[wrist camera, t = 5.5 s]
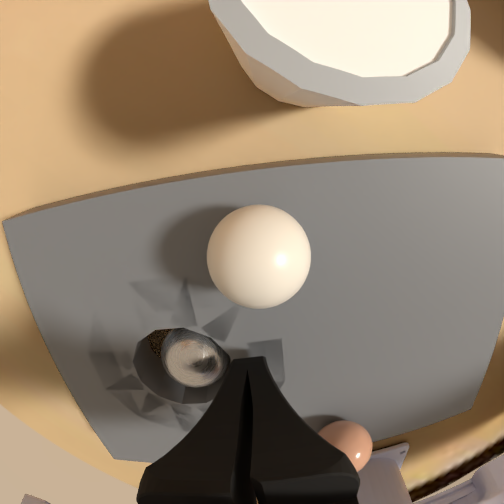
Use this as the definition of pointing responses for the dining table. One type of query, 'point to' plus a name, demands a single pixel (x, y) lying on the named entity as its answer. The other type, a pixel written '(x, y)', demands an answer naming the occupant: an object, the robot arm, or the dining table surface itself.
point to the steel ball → (193, 358)
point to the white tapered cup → (347, 47)
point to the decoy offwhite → (258, 256)
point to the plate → (283, 315)
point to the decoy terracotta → (349, 441)
